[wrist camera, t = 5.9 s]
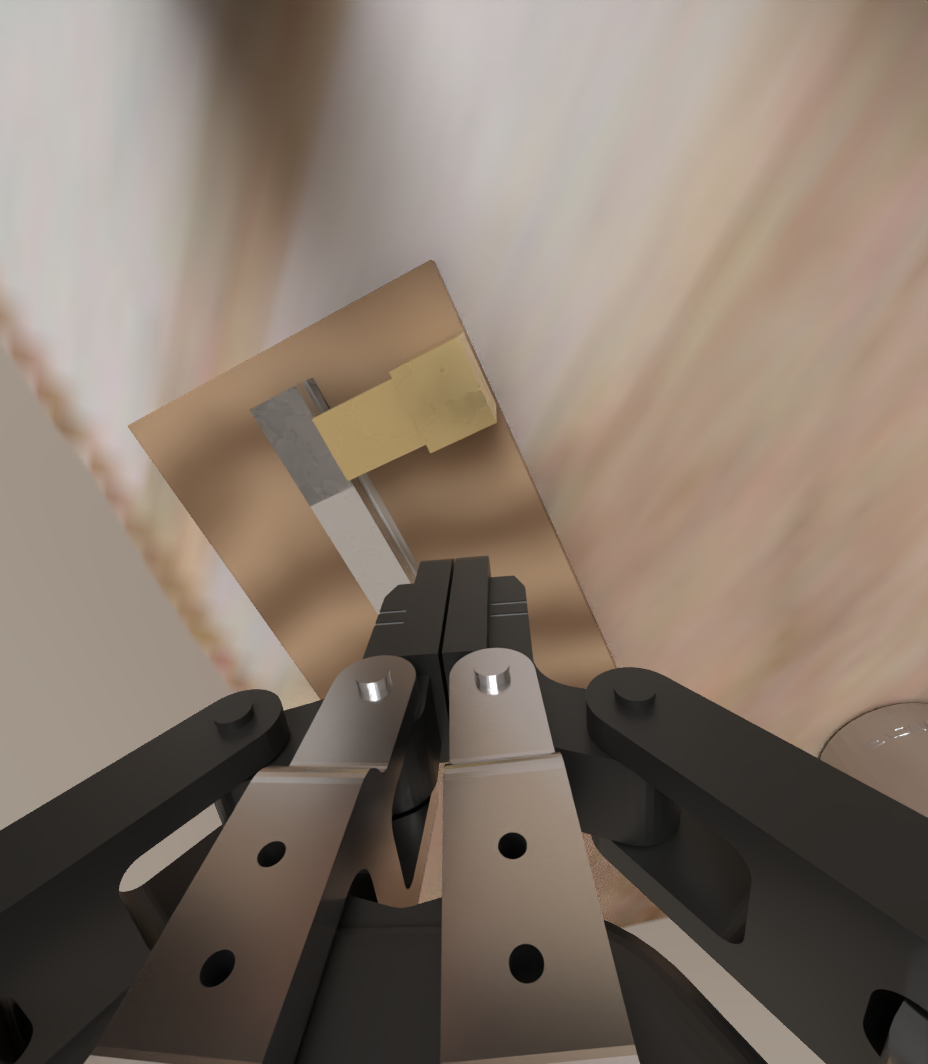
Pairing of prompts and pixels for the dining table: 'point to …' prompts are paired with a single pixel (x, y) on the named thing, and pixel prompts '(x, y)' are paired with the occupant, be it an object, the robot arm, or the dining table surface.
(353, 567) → the tongs upper arm
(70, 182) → the dining table surface
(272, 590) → the wooden board with rail
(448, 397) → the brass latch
